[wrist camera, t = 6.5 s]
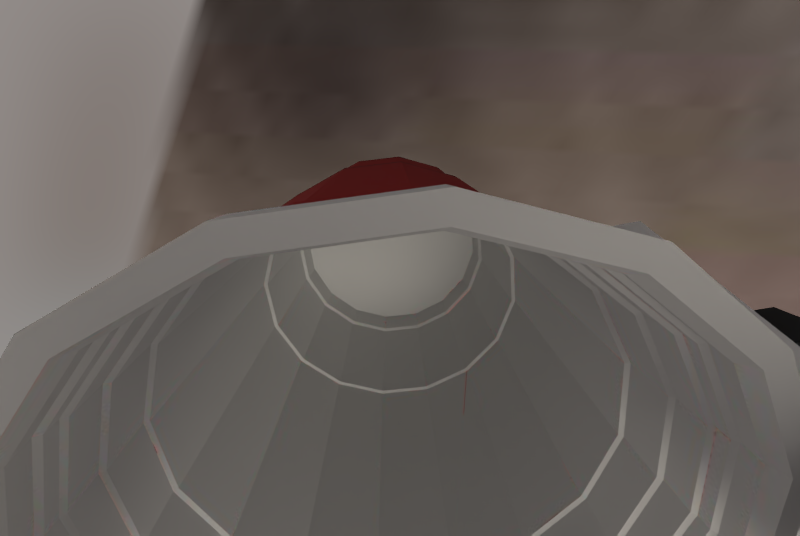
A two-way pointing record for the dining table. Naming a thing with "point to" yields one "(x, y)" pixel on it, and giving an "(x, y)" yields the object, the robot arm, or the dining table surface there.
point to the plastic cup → (401, 381)
